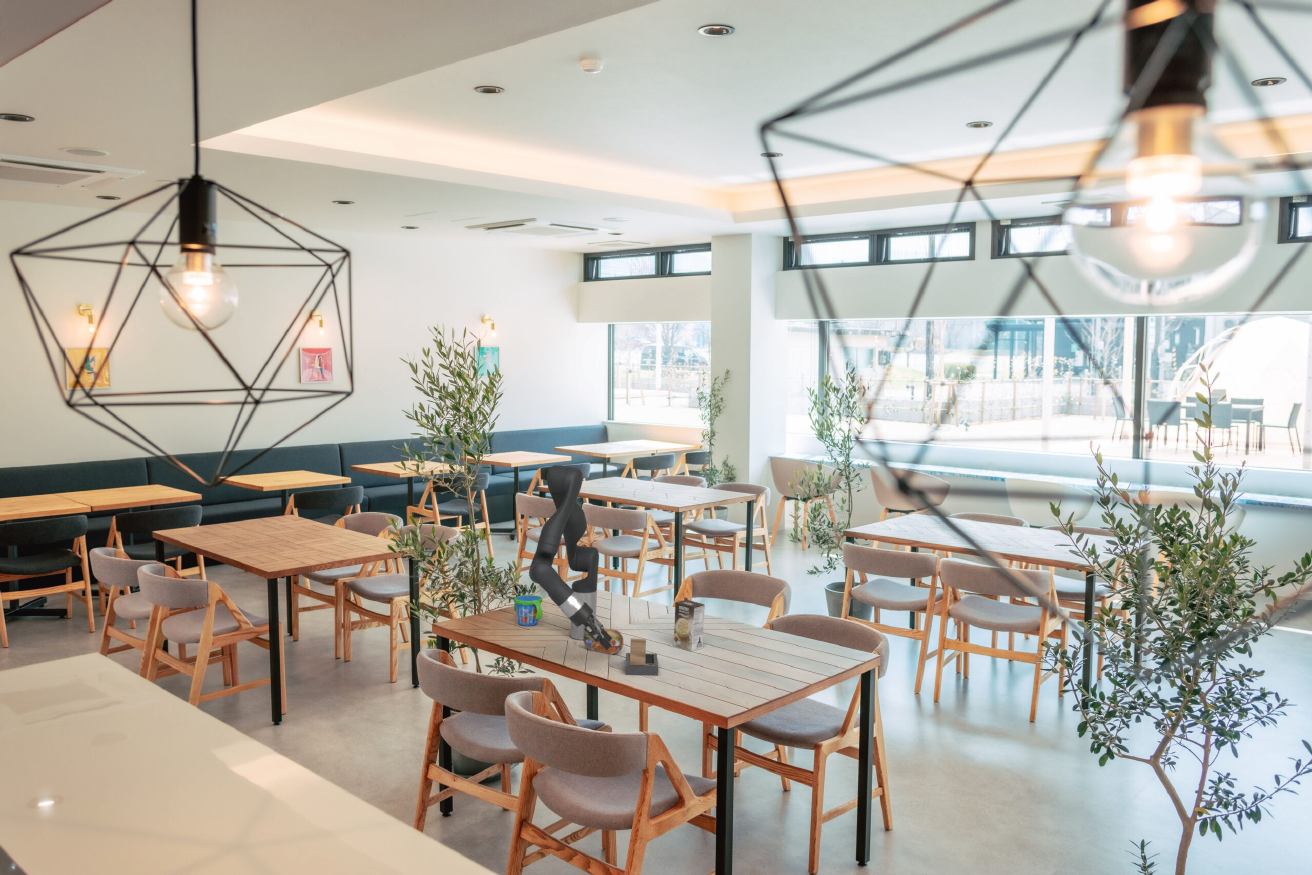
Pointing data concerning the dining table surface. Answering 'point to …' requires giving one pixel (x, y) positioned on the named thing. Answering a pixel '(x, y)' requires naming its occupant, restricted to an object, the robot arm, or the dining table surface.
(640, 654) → the block
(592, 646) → the tin
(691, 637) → the coffee box
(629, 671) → the dark grey tray
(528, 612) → the snack cup
